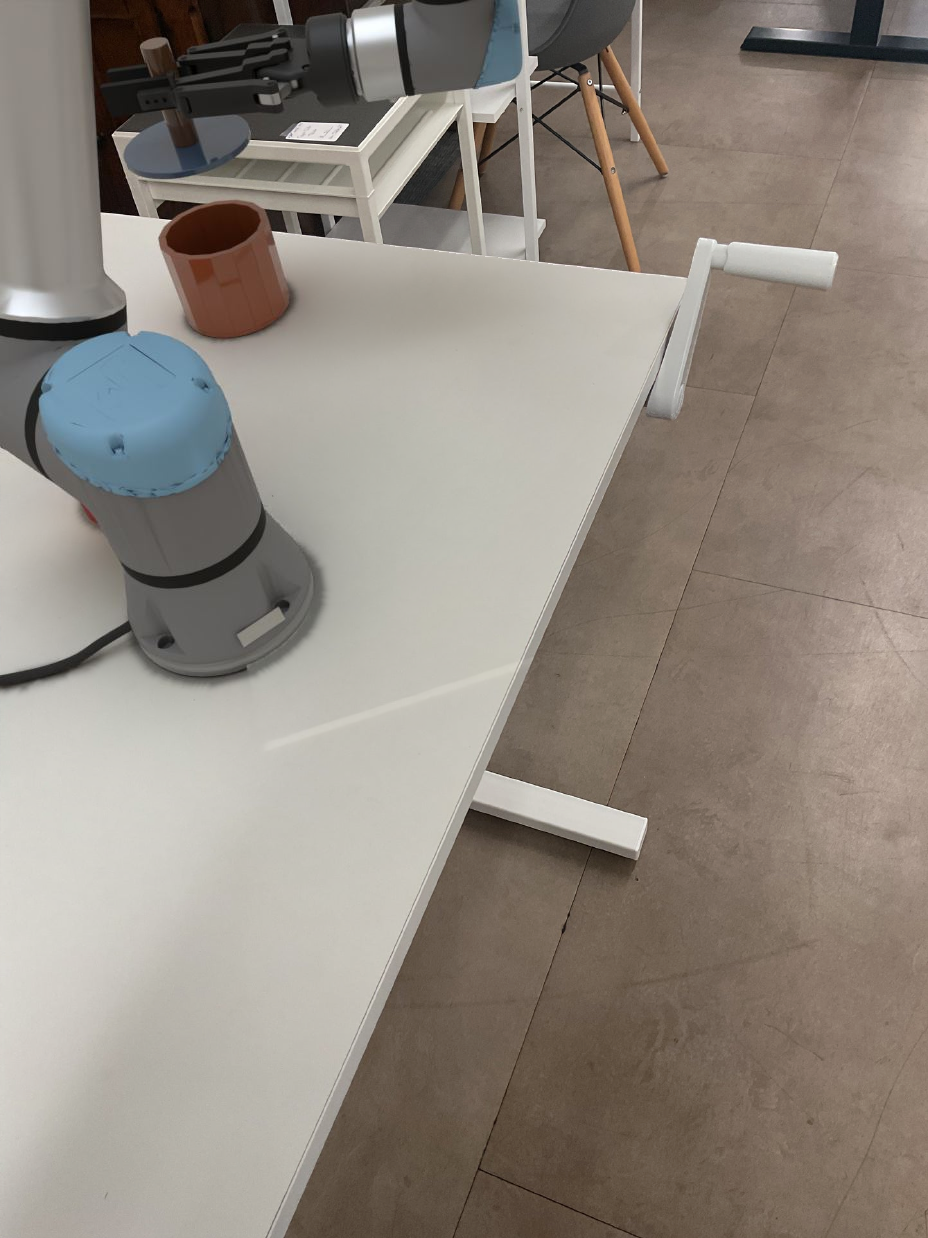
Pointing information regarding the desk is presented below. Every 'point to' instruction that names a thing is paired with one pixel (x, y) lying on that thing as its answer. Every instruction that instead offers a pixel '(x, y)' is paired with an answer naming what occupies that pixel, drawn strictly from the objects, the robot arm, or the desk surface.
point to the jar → (225, 268)
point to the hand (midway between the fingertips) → (110, 93)
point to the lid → (182, 132)
